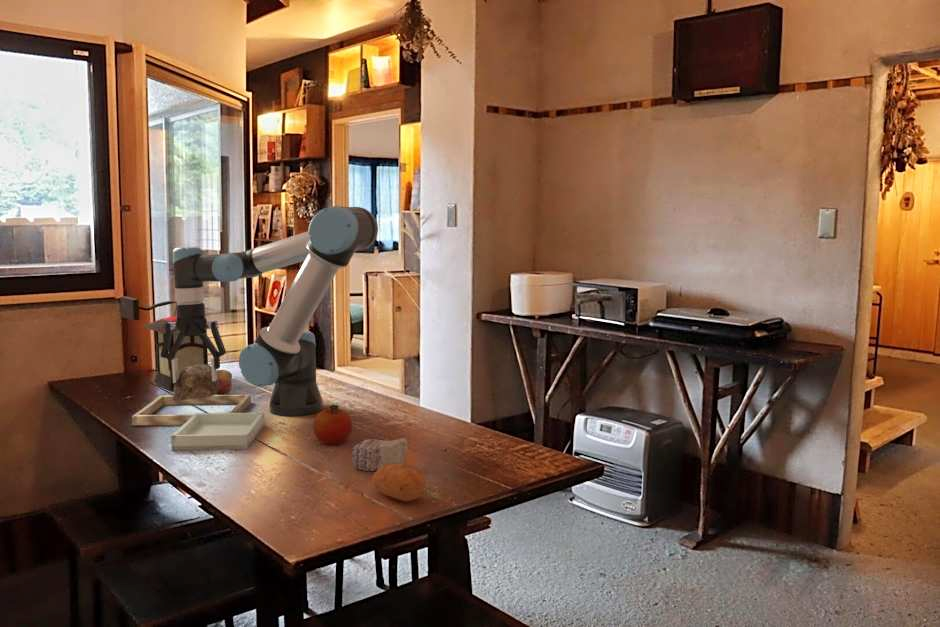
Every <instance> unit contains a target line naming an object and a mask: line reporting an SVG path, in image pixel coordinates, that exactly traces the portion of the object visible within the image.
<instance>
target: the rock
mask: <svg viewBox="0 0 940 627" xmlns="http://www.w3.org/2000/svg"><path fill="white" fill-rule="evenodd" d="M219 388H220V385H219V376H218V374H217V380H216V381H212V370H211V364H208V365H206V364H205V365H204V364H202V365H199V364H198V365H195V366H189V367H185V368H184V369H183V370H182V371H181V373H180V376H179V379H178V380H177V382H176V383H175V385H174V391H173V394H172V396H173V399H174V400H178V401H182V400H189V399H197V398H205V397H210V396H213V395H217V391H218V389H219Z"/></svg>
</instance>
